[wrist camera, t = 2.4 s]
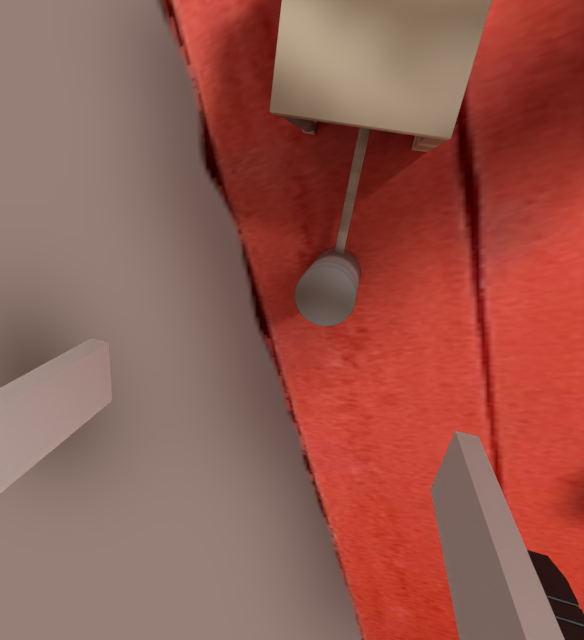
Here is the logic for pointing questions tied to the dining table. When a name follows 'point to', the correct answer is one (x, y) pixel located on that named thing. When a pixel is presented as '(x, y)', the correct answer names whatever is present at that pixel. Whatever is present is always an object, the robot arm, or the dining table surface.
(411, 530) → the dining table surface
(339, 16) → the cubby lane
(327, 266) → the tethered cylinder
